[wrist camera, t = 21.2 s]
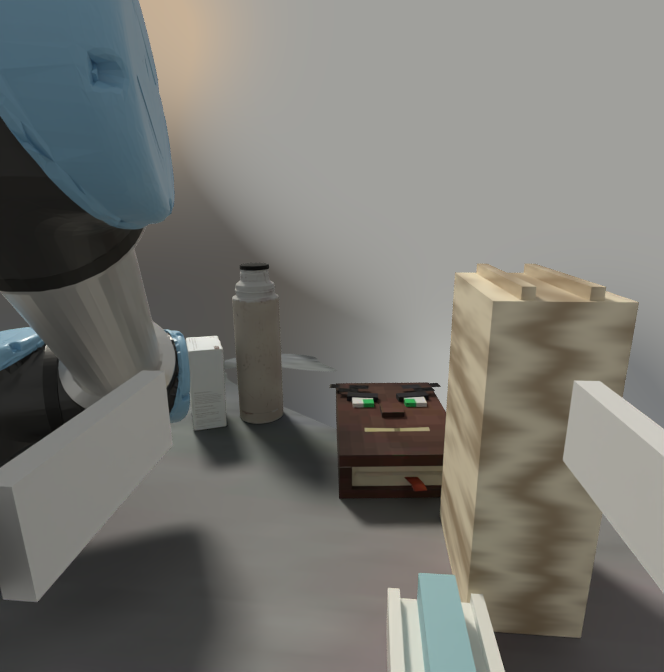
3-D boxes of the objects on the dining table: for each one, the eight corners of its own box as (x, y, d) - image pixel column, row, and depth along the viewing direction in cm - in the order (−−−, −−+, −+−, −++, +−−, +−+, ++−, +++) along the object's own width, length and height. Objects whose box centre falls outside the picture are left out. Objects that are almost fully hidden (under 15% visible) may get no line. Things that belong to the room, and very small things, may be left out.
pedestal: (464, 629, 41) (494, 287, 33) (439, 515, 56) (455, 263, 48) (580, 638, 40) (641, 288, 32) (523, 519, 55) (553, 263, 47)
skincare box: (190, 413, 85) (183, 337, 81) (223, 408, 87) (217, 334, 83) (193, 432, 78) (185, 350, 74) (229, 427, 80) (223, 346, 76)
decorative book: (329, 459, 55) (329, 374, 84) (330, 512, 57) (329, 412, 86) (486, 457, 55) (432, 373, 84) (481, 510, 57) (430, 411, 86)
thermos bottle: (231, 414, 85) (220, 263, 77) (266, 402, 90) (259, 260, 83) (256, 428, 79) (247, 267, 72) (292, 414, 84) (286, 263, 77)
